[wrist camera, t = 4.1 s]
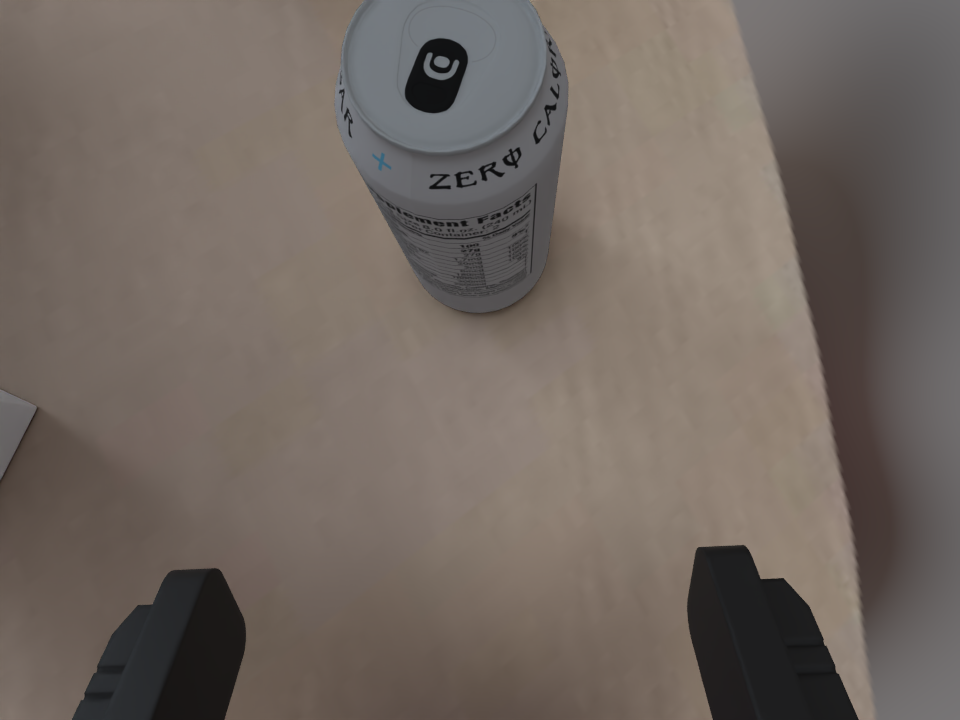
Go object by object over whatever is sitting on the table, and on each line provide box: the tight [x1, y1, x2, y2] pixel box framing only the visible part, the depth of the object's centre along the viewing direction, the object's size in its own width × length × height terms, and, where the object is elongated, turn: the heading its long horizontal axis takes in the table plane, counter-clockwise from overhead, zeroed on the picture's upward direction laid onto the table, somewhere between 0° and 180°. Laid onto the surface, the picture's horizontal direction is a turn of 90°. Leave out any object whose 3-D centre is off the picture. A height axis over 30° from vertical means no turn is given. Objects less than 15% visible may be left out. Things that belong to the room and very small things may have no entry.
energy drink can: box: [334, 0, 568, 313], centre depth 23 cm, size 6×6×15 cm
